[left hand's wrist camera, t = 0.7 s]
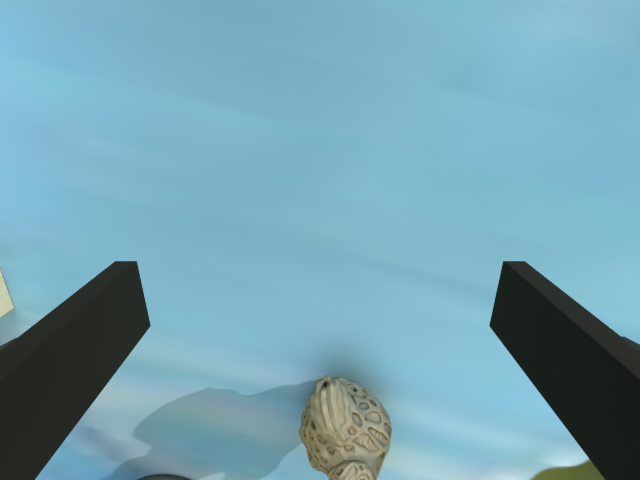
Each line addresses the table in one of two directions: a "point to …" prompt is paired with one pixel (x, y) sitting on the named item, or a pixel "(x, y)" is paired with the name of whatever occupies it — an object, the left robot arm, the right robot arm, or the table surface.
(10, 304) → the thick block
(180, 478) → the right robot arm
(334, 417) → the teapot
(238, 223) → the table surface
